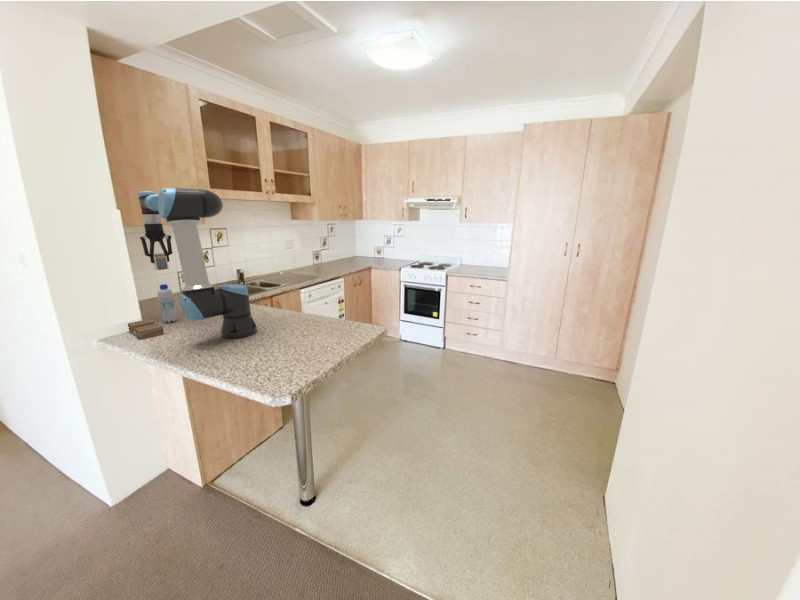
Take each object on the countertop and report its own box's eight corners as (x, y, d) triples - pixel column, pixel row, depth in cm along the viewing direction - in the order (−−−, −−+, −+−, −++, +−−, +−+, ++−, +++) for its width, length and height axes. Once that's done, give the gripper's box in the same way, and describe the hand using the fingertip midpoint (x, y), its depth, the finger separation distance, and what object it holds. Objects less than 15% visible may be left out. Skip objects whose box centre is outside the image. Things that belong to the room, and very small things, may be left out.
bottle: (164, 320, 172) (156, 283, 167) (179, 319, 174) (172, 282, 169) (161, 324, 166) (153, 286, 161) (176, 322, 168) (169, 284, 163)
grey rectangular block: (167, 269, 172) (164, 253, 170) (158, 270, 169) (155, 254, 167) (165, 268, 175) (162, 253, 172) (156, 269, 172) (153, 254, 169)
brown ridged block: (164, 334, 152) (162, 326, 151) (140, 339, 145) (138, 331, 144) (151, 326, 163) (150, 318, 162) (129, 331, 156) (127, 323, 155)
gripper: (170, 222, 174) (177, 266, 180) (129, 223, 162) (139, 270, 167) (174, 222, 170) (182, 267, 176) (134, 223, 157) (143, 271, 163)
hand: (161, 268), depth 172 cm, fingers closed on grey rectangular block, 4 cm apart
